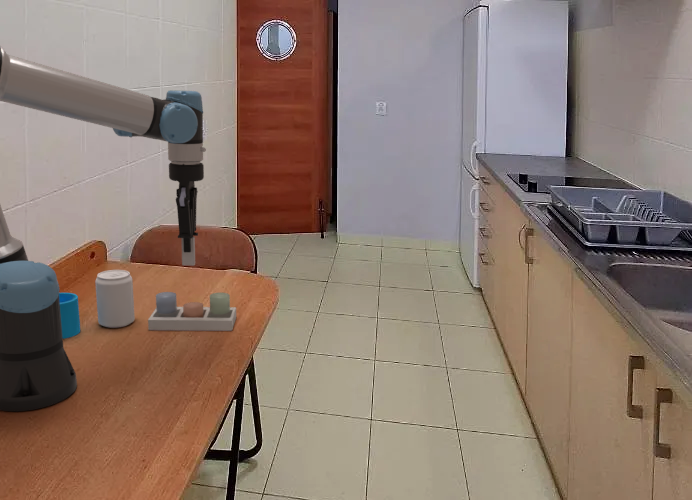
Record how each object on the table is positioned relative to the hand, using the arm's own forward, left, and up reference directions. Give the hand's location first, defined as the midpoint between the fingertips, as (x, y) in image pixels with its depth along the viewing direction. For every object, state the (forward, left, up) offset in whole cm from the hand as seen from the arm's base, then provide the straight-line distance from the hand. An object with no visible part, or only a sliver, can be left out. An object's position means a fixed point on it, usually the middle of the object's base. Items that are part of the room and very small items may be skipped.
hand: (188, 264), depth 151 cm
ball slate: (-2, +5, -11) cm, 13 cm away
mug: (-17, +22, -15) cm, 32 cm away
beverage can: (-8, +15, -15) cm, 23 cm away
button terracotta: (+1, 0, -14) cm, 14 cm away
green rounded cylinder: (+4, -6, -11) cm, 13 cm away
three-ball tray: (+1, 0, -15) cm, 15 cm away
